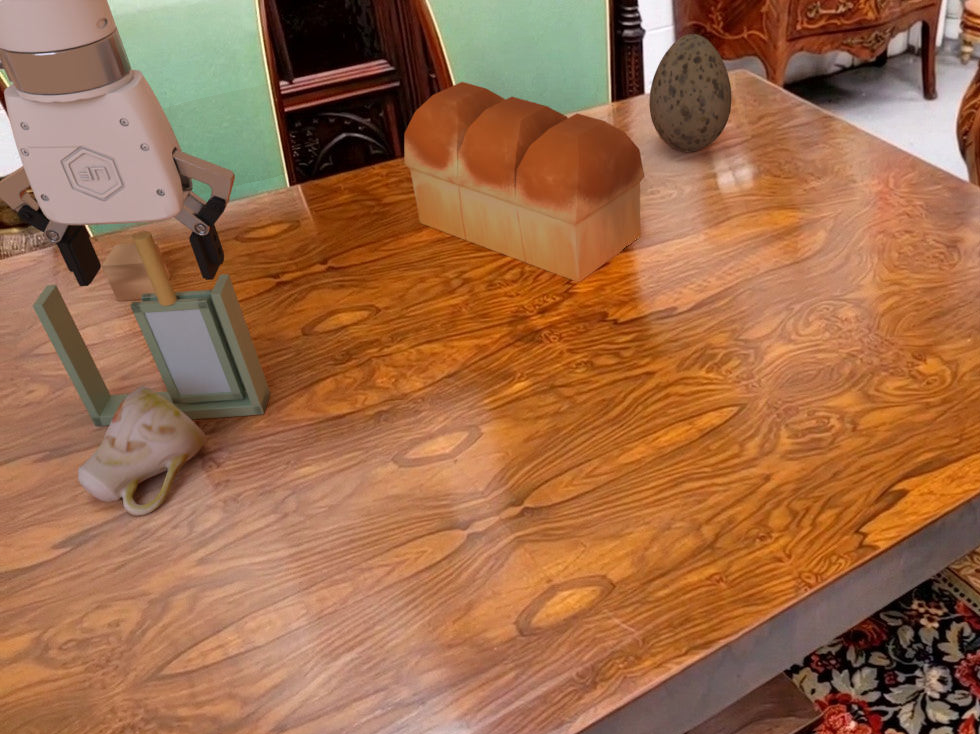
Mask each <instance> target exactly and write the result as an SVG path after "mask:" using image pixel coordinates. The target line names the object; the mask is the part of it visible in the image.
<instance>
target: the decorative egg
mask: <svg viewBox="0 0 980 734" xmlns="http://www.w3.org/2000/svg"><path fill="white" fill-rule="evenodd" d="M732 97H733V95H732V86H731V81H730V77H729V73H728V70H727V67H726V64H725V62H724V60H723V58H722V55H720V53H719V51H718V50H717V49H716V47H715V46H714V45H713V43H712V42H710V41H709V40H708V39H707V38H705V36H702V35H700V34H696V33H690V34H686V35H683V36H681V37H680V38H679V39H677V40H676V41H675V42H673V43H672V44H671V45H670V47H669V48H668V49H667V50H666V52H665V53H664V55H663V56H662V58H661V59H660V61H659V64H658V66H657V68H656V70H655V72H654V75H653V78H652V81H651V86H650V89H649V101H648V102H649V114H650V119H651V121H652V125H653V127H654V129H655V131H656V133H657V135H658V136H659V137H660V139H661V140H662V141H664V142H665V143H666V144H667V145H668V146H669V147H671V148H672V149H675V150H679V151H681V152H685V151H689V152H688V153H693V152H698V151H701V150H704V149H705V148H708V147H709V146H710V145H712V144H713V143H714V142H715V141H716V140H717V139H718V138H719V137H720V136H721V135H722V133H723V132H724V130H725V128H726V126H727V123H728V121H729V118H730V115H731V110H732V99H733V98H732Z"/></svg>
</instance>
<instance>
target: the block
mask: <svg viewBox="0 0 980 734" xmlns="http://www.w3.org/2000/svg"><path fill="white" fill-rule="evenodd" d="M154 242H155V245H156V247H157V250H158V252H159V255H160V257H161V260H162V262H163V265H164V267H165V270H166V272H167V275H168V277H169V280H170V279H171V275H170V272H169V269H168V266H167V264H166V261H165V259H164V256H163V255H162V252H161V249H160V246H159V244H158V242H157V241H154ZM101 268H102V270H103V272H104V274H105V276H106V278H107V281H108V283H109V285H110V288H111V289H112V292H113V294H114V296H115V299H116V301H118V302H122V301H124V302H125V301H136V300H138V301H140V300H141V301H142V299H141V296H142V295H143V294H150V293H155V291H154V289H153V287H152V284H151V282H150V279H149V277H148V275H147V272H146V270H145V267H144V265H143V263H142V260H141V258H140V255H139V253H138V251H137V248H136V246H135V243H120V244H119V243H117V244H114V245H113V247H112V249H111V250H110V252H109V254H108V255H107V257H106V258H105V260H104V261H103V263H101Z"/></svg>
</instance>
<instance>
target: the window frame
mask: <svg viewBox="0 0 980 734" xmlns="http://www.w3.org/2000/svg"><path fill="white" fill-rule="evenodd" d="M174 292H175V295H176V297H177V299H190V298H204V297H208V299H209V302H210V305H211V307H212V310H213V313H214V315H215V318H216V321H217V323H218V326H219V329H220V331H221V334H222V337H223V339H224V342H225V345H226V347H227V350H228V353H229V355H230V358H231V361H232V363H233V366H234V369H235V372H236V374H237V377H238V380H239V382H240V385H241V388H242V390H243V393H244V398H243V399H238V400H223V401H208V402H194V403H180V404H173V401H172V399H171V397H170V395H169V392H168V390H167V391H166V390H163V391H156V392H157V393H158V394H160V395H161V396H163V397H164V398H165V399H167V400H168V401H169V402H171V403H172V404H173V405H175V406H176V407H177V408H178V409H180V410H181V411H182V412H183V413H184V414H185V415H187V416H188V417H189V418H190V419H191V420H192V421H193V420H205V419H206V420H207V419H218V418H232V417H245V416H261V415H264V414H265V412H266V409H267V405H268V402H269V399H270V396H271V390H270V387H269V385H268V382H267V379H266V376H265V373H264V370H263V367H262V364H261V361H260V358H259V355H258V353H257V350H256V348H255V344H254V342H253V338H252V336H251V333H250V330H249V328H248V324H247V322H246V319H245V316H244V313H243V311H242V310H243V309H242V306H241V305H240V302H239V299H238V295H237V293H236V291H235V287H234V285H233V282H232V279H231V276H230V273H224V274H219V275H218V278H217V280H216V282H215V284H214V287H213V289H201V290H200V289H199V290H185V291H174ZM143 301H158V299H157V296H156V294H155V293H150V294H143V295H142V296H141V302H143ZM32 308H33V311H34V312H35V314H36V316H37V318H38V319H39V322H40V323H41V326H42V328H43V329H44V331H45V333H46V335H47V337H48V339H49V341H50V342H51V345H52V346H53V348H54V350H55V353H56V354H57V356H58V358H59V359H60V361H61V363H62V366H63V367H64V369H65V371H66V373H67V375H68V377H69V379H70V380H71V381H70V382H71V383H72V385H73V386H74V389H75V390H76V392H77V394H78V396H79V398H80V400H81V402H82V404H83V406H84V408H85V409H86V411H87V413H88V416H89V417H90V419H91V421H92V424H93V425H94V426H95V427H105V426H106V427H107V426H108V427H109V426H110V423H111V421H112V419H113V417H114V414H115V412H116V410H117V409H118V407H119V405H120V404H121V402H122V401H123V400H124V399H125V398H126V397H127V396H128V395H129V394H130V393H123V394H121V393H120V394H111V392H110V391H109V389H108V387H107V384H106V382H105V380H104V378H103V377H102V374H101V373H100V371H99V369H98V366H97V365H96V363H95V361H94V359H93V356H92V354H91V353H90V350H89V348H88V346H87V343H85V340H84V338H83V336H82V334H81V332H80V330H79V329H78V328H79V327H78V326H77V324H76V322H75V321H74V318H73V316H72V314H71V312H70V309H69V308H68V305H67V304H66V302H65V300H64V298H63V296H62V294H61V292H60V290H59V288H58V285H56V284H47V285H46V286H45V287H44V288H43V290H42V291H41V293H40V294H39V295H38V297H37V298H36V300H35V301H34V303H33V304H32Z"/></svg>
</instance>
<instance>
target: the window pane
mask: <svg viewBox="0 0 980 734" xmlns="http://www.w3.org/2000/svg"><path fill="white" fill-rule="evenodd" d="M131 238H132V241H133V244H135V246H136V248H137V251H138V253H139V255H140V258H141V260H142V263H143V265H144V267H145V270H146V272H147V275H148V277H149V279H150V282H151V284H152V287H153V289H154V291H155V294H156V296H157V299H158V301H132V302H131V304H130V308H131V310H132V311H131V312H132V313H133V316H134V318H135V320H136V322H137V324H138V327H139V329H140V331H141V333H142V336H143V339H144V340H145V342H146V344H147V347H148V349H149V352H150V355H151V356H152V359H153V361H154V363H155V365H156V367H157V369H158V372H159V374H160V377H161V379H162V382H163V383H164V385H165V388H166V390H167V391H168V392H169V395H170V397H171V399H172V401H173V404H180V403H194V402H208V401H223V400H238V399H243V398H244V393H243V390H242V388H241V385H240V382H239V380H238V377H237V374H236V372H235V369H234V366H233V363H232V361H231V358H230V355H229V353H228V350H227V347H226V345H225V342H224V339H223V337H222V334H221V331H220V329H219V326H218V323H217V321H216V318H215V315H214V313H213V310H212V307H211V305H210V302H209V299H208V297H204V298H190V299H177V297H176V295H175V292H176V291H175V290H174V287H173V286H172V283H171V280H170V279H169V277H168V275H167V272H166V270H165V267H164V265H163V262H162V260H161V257H160V255H159V252H158V250H157V247H156V245H155V242H156V241H155V240H154V238H153V235H152V233H151V232H150V231H148V230H145V231H144V230H143V231H138V232H136V233H134V234H132V237H131Z"/></svg>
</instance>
